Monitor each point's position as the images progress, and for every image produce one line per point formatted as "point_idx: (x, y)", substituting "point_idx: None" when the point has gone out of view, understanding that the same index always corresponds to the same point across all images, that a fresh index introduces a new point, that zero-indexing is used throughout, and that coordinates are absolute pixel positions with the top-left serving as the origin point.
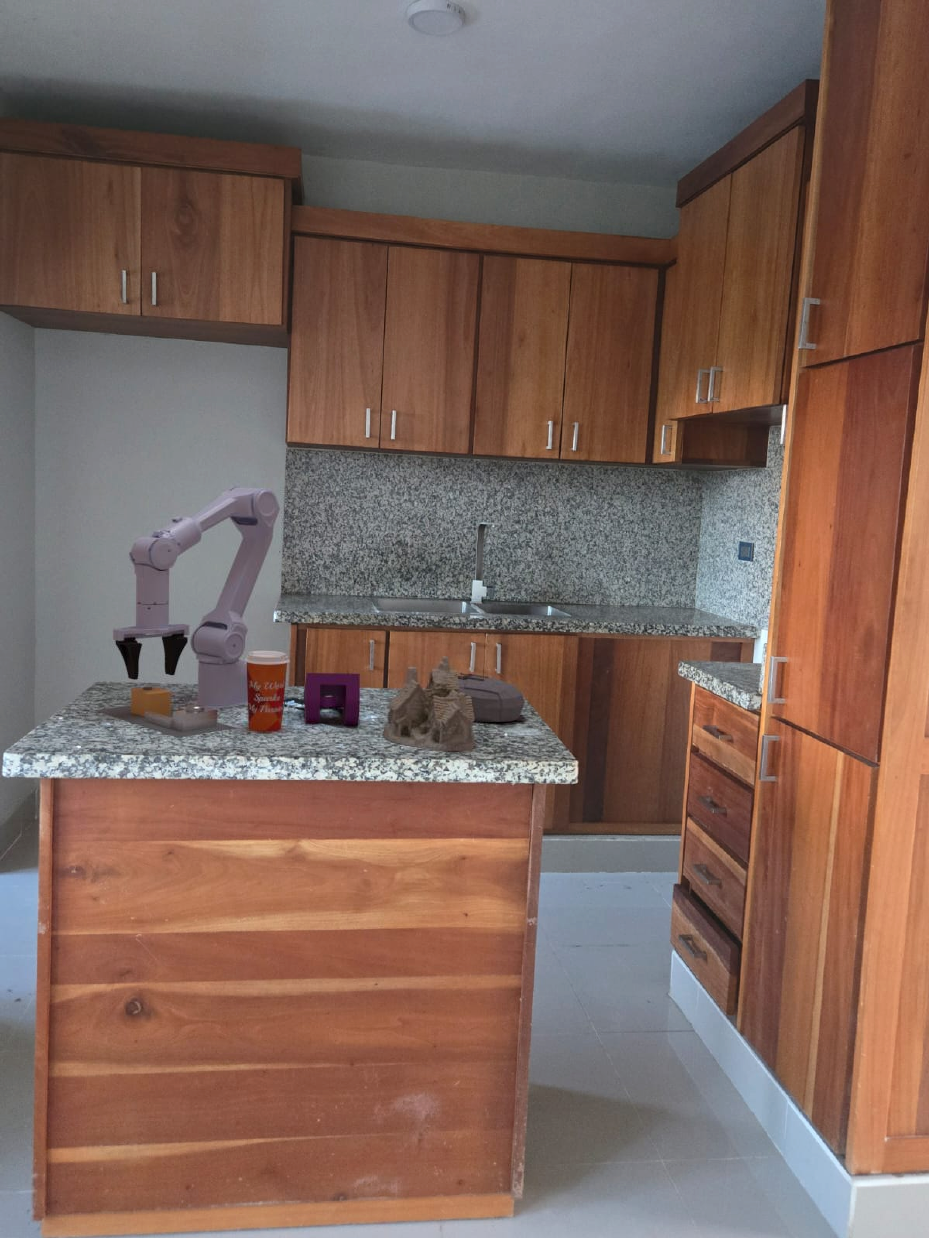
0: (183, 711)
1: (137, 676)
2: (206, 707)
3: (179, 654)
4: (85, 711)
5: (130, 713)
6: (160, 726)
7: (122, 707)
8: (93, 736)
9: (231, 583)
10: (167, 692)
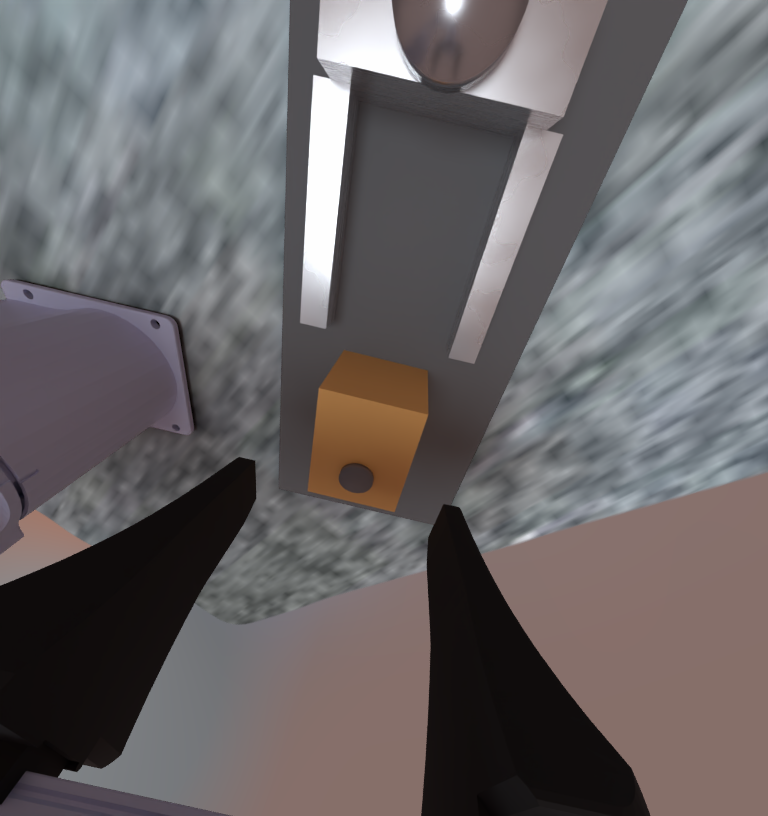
0: (525, 58)
1: (449, 513)
2: (333, 42)
3: (129, 535)
4: None
5: None
6: None
7: None
8: (728, 344)
9: None
10: (338, 390)
